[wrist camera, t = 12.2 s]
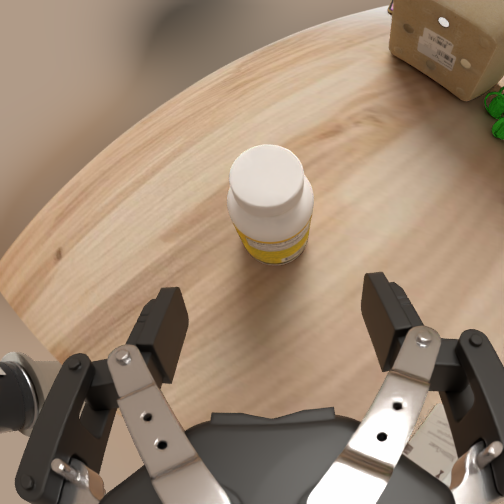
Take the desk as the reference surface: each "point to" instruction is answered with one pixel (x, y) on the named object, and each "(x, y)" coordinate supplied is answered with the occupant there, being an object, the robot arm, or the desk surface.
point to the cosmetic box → (434, 446)
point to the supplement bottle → (270, 203)
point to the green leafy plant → (497, 113)
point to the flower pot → (452, 42)
